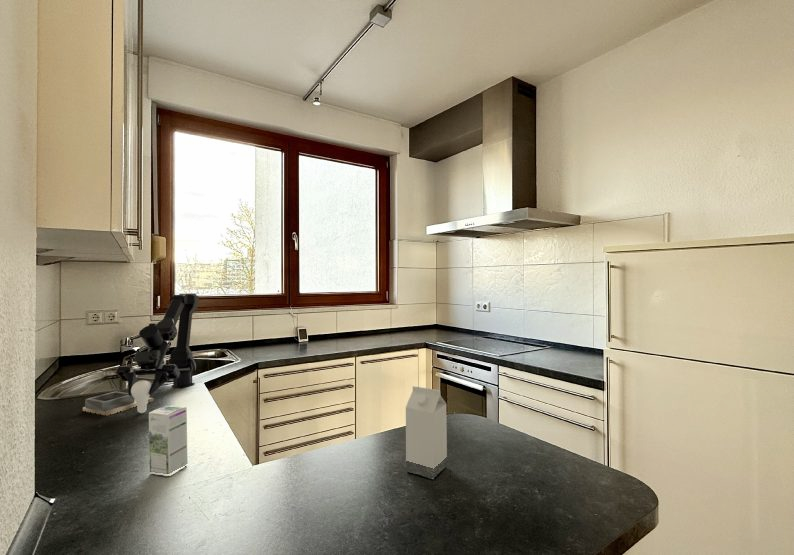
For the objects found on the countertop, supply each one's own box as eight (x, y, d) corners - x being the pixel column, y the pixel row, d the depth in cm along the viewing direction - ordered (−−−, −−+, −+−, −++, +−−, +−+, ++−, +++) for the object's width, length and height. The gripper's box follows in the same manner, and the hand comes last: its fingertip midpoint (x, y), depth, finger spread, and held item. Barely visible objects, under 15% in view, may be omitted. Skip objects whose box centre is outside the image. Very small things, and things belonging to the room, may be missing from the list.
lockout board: (130, 397, 148) (130, 386, 148) (153, 401, 143) (153, 390, 143) (82, 410, 133) (82, 398, 133) (106, 415, 128) (106, 403, 128)
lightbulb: (132, 411, 132) (132, 379, 132) (154, 409, 134) (153, 377, 134) (129, 417, 126) (129, 383, 126) (151, 414, 129) (151, 381, 129)
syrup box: (188, 466, 93) (188, 405, 93) (168, 478, 87) (167, 414, 87) (169, 463, 94) (169, 403, 94) (148, 475, 89) (147, 412, 89)
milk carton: (420, 460, 95) (419, 382, 95) (447, 467, 91) (446, 386, 91) (405, 473, 89) (405, 389, 89) (434, 481, 85) (433, 394, 85)
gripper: (118, 342, 133) (97, 383, 122) (176, 341, 135) (161, 381, 124) (131, 360, 141) (113, 400, 130) (185, 359, 143) (172, 398, 132)
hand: (139, 394), depth 129 cm, fingers closed on lightbulb, 6 cm apart
